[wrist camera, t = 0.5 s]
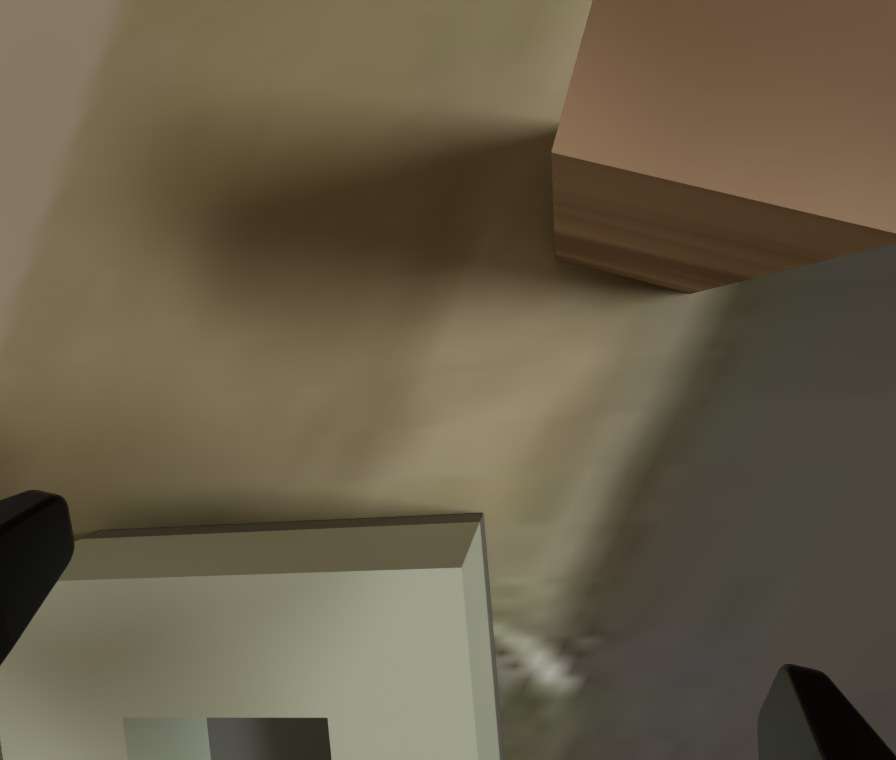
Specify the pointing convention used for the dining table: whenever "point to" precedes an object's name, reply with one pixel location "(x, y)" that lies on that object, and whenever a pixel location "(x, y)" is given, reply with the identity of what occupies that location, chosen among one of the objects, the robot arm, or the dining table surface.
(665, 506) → the dining table surface
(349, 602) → the socket block
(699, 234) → the walnut peg
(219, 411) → the dining table surface
